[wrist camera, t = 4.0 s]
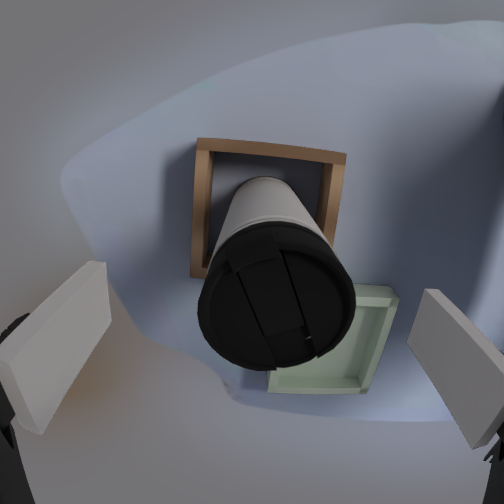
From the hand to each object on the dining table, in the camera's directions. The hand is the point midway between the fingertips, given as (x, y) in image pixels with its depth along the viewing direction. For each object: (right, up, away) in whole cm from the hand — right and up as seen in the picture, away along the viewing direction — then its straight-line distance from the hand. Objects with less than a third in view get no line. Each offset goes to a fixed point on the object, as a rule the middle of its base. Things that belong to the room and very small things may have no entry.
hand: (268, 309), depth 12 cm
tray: (+8, -7, +23) cm, 25 cm away
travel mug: (+1, +6, +18) cm, 19 cm away
